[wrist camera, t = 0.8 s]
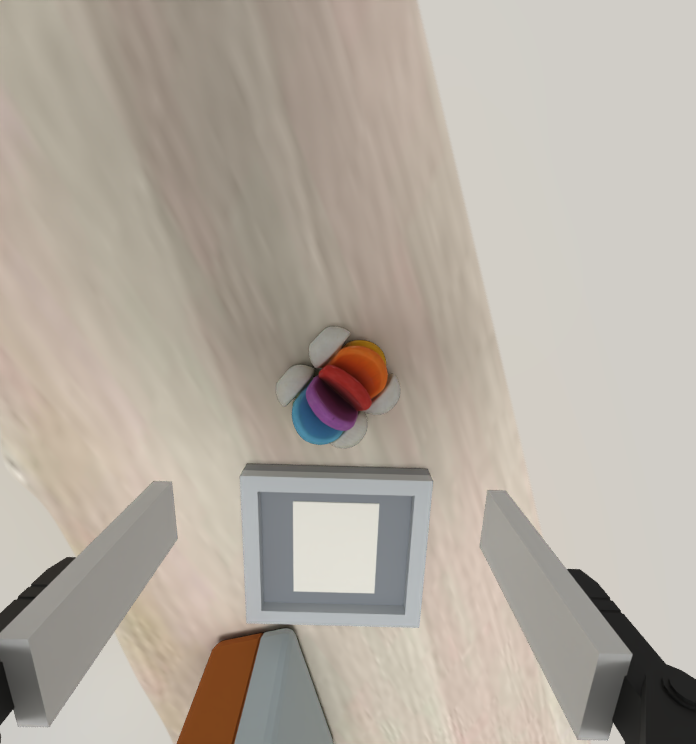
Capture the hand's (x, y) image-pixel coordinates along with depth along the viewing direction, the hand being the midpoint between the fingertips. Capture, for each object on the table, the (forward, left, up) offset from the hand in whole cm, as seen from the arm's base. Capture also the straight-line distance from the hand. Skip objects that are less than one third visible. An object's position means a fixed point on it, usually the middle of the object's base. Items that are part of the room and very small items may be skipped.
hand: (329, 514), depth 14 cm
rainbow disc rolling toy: (-1, 0, -17) cm, 17 cm away
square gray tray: (+15, 0, -17) cm, 23 cm away
